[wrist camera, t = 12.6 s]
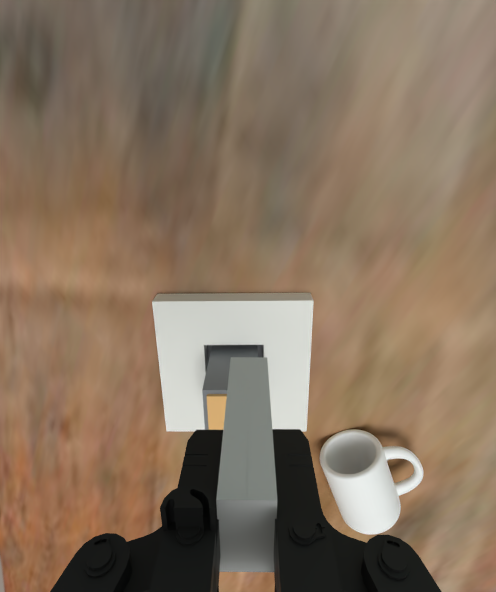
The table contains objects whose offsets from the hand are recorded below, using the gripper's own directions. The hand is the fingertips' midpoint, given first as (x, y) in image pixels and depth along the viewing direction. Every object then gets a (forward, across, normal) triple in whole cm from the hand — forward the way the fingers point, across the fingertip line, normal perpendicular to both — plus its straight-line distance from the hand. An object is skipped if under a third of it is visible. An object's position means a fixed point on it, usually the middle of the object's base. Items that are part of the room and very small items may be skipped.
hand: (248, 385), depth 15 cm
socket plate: (+27, -2, -16) cm, 32 cm away
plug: (+27, -2, -16) cm, 31 cm away
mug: (+27, +16, -31) cm, 44 cm away
